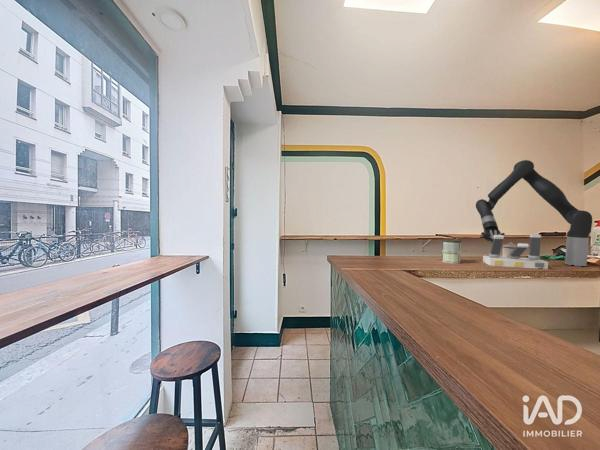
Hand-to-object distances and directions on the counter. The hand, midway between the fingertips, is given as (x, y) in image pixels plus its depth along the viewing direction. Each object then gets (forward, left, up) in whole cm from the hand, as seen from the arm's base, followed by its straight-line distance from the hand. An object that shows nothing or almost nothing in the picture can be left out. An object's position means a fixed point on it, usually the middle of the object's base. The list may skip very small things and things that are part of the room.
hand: (495, 245), depth 162 cm
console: (-8, +6, -12) cm, 15 cm away
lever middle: (-9, +5, -7) cm, 12 cm away
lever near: (-15, +13, -7) cm, 21 cm away
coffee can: (+17, -17, -12) cm, 27 cm away
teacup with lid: (-29, -5, -12) cm, 32 cm away
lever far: (-1, -1, -7) cm, 8 cm away
